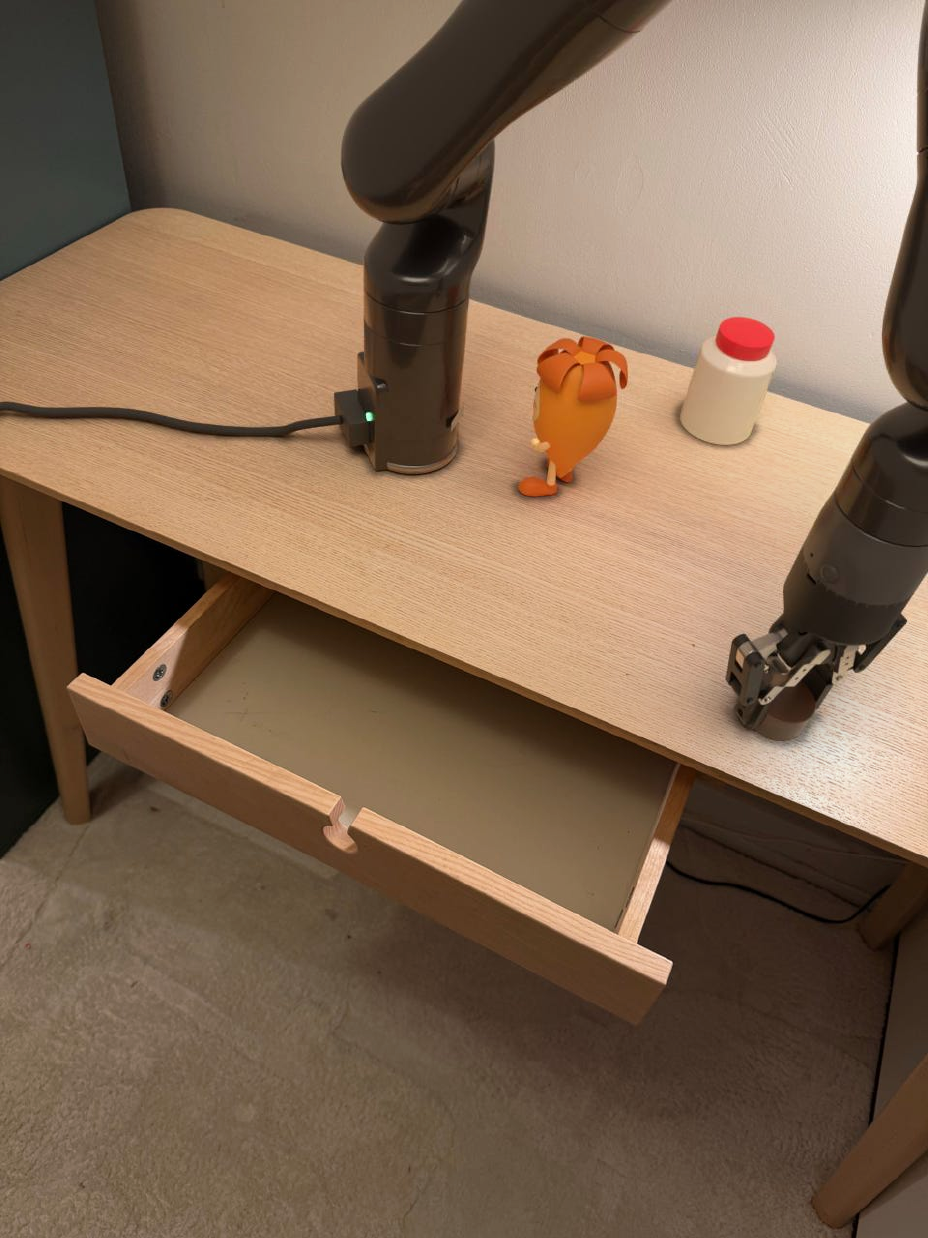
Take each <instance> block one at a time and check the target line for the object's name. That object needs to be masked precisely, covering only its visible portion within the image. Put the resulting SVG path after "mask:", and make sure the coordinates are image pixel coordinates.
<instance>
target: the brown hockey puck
mask: <svg viewBox="0 0 928 1238" xmlns="http://www.w3.org/2000/svg"><path fill="white" fill-rule="evenodd" d="M762 678H763V679H764V680H765V682H766V683H767V685H769V684H770V683H771V682H772V677H771V675H770V674H769V672H768V671H766V672H765V673H764V674H763V676H762ZM772 701H773V703H772V705H771V707H770V708H769V710H768V712H767V714H766V715H765V717H764V719H763V721H762V722H761V724H760V726H759V727H757V728H754V729H753V730H754V731H755V732H756V733H758V734H759V735H761V736H763V737H765V738H767V739H770V740H774V741H790V740H792V739H795V738H798V737H799V736H800V735H802V732H803V731H804V730H805V728H806V727H807V725H808V723H809V722H810V720H811V718H812V717H813V716H814V714H815V712H816V710H815V707H816V703H815V698H814V696H813V694H812V692H811V691H810V689H809V688H808V687H807V685H805V684H804V683H803V682H802V681H801V680H800V681H799V682H798V683H797V684H796V685H795V686H794V687H785V688H784V689H783V690H782V691H781V692H780V693H779V694H778V695H777V696H776V697H775V698H774V699H773V700H772Z"/></svg>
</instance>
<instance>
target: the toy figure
mask: <svg viewBox="0 0 928 1238" xmlns="http://www.w3.org/2000/svg"><path fill="white" fill-rule="evenodd" d="M560 350H562V351H560ZM559 351H560V352H559ZM536 363H537V366H536V370H535V371H536V373H537V375H538V377H539V380H538V383H537V386H535V388H534V398H533V405H532V423H533V428H534V432H535V435H536V437H533V438H532V439H531V440H530V446H531V448H532V450H534V451H536V452H538V453H542V452H544V453H545V455H546V457H547V460H546V466H547V468H548V470H547V476H546V480H544V479H543V478H540V477H536V476H529V477H525V478H523V479H522V480H521V481H520V482H519V484H518V490H519V492H520V494H522V495H524V496H527V497H543V496H552V495H555V494H556V493H557V492H558V486H557V481H556V477H557V478H558V479H560V480H561V481H563V482H566V483H569V482H571V481H572V480H573V469H574V468H575V467H576V466H577V465H578V464H579V463H580V462H581V461H583V460H584V459H585V458H586V457H587V456H588V455H590V454H591V453H592V452H593V451H594V450H595V449H596V448H598V446H600V444H601V443H602V441H603V440H604V438H605V437H606V435H607V434H608V432H609V430H610V428H611V426H612V424H613V421H614V418H615V415H616V410H617V404H618V386H617V381H616V377H615V373H614V370H613V367H612V364H614V365H615V366H616V367H617V368H618V369H620V371H619V376H618V382H619V388H620V389H621V390H624V389H626V387H627V386H628V383H629V370H628V362H627V358H626V356H625V355H624V354H623V353H621V352H620V351H618V350H615V348H614V346H613V345H612V344H610V343H608V342H607V341H604V340H601V339H598V338H594V337H591V336H586V335H582V336H581V337H580V338H579V339H578V342H576V340H574V339H572V338H568V337H563V338H560V339H558V340H556V341H554V342H553V343H552V344H550V345H549V346H548V347H546V348H545V349H544V350H543V351H542V352H541V353H540V354H539V355H538V357H537V361H536ZM611 363H612V364H611Z"/></svg>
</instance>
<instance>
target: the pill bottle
mask: <svg viewBox="0 0 928 1238" xmlns="http://www.w3.org/2000/svg"><path fill="white" fill-rule="evenodd" d="M775 337H776V336H775V332H774V331H773V329H772V328H770V327H769V326H768V325H767V324H765V323H763V322H761V321H759V320H757V319H753V318H750V317H745V316H734V317H729V318H725V319H723V320H722V321H721V323H720V324H719V326H718V330H717V333H715V334H713V335H711V336H709V337H707V338H706V339H705V340H704V341H703V343H702V344H701V346H700V349H699V352H698V355H697V358H696V362H695V365H694V368H693V371H692V375H691V377H690V381H689V384H688V387H687V391H686V394H685V397H684V400H683V403H682V407H681V410H680V415H679V419H680V423H681V425H682V426H683V428H684V429H685V430H686V431H687V432H688V433H689V434H691V435H692V436H694V437H695V438H697V439H699V440H701V441H703V442H706V443H709V444H713V445H721V446H729V445H730V446H731V445H736V444H740V443H742V442H744V441H746V440H747V439H748V438H749V437H750V435H751V434H752V431H753V428H754V426H755V423H756V422H757V419H758V415H759V414H760V411H761V408H762V405H763V403H764V401H765V397H766V395H767V393H768V391H769V387H770V385H771V382H772V380H773V378H774V374H775V372H776V369H777V367H778V358H777V356H776V353H775V352H774V350H773V348H772V347H773V344H774V343H775Z"/></svg>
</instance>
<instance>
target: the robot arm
mask: <svg viewBox="0 0 928 1238" xmlns="http://www.w3.org/2000/svg"><path fill="white" fill-rule="evenodd" d="M674 2H675V0H461V1H460V2H459V3H458V5H457V6H456V7H455V9H454V10H453V11H452V13H451V14H450V15H449V17H448V18H447V19H446V20H445V22H444V23H443V24H442V25H441V26H440V27H439V28H438V30H437V31H436V32H435V33H434V34H433V35H432V36H431V37H430V38H429V40H427V42H426V43H424V44H423V45H422V47H421V48H419V49H418V50H417V51H416V52H415V53H414V54H413V55H412V56H411V57H410V58H409V59H408V60H407V61H406V62H404V63H403V65H401V66H400V68H398V69H397V70H396V71H395V72H394V73H393V74H391V76H389V77H388V78H387V79H386V80H385V81H384V82H383V83H381V84H380V85H379V86H378V87H377V88H376V89H375V90H373V91H372V92H371V93H370V94H369V95H368V96H366V97H365V98H364V99H363V100H362V101H361V102H360V103H359V104H358V106H356V108H355V109H354V111H353V112H352V113H351V115H350V117H349V119H348V121H347V124H346V125H345V129H344V133H343V136H342V140H341V147H340V167H341V173H342V179H343V182H344V185H345V187H346V191H347V192H348V194H349V196H350V198H351V199H352V201H353V202H354V204H355V205H356V206H357V207H358V208H359V209H360V210H361V211H362V212H363V213H365V214H366V215H367V216H369V217H370V218H372V219H374V220H376V221H378V222H380V223H381V224H380V227H379V228H378V230H377V232H376V233H375V234H374V236H373V237H372V239H371V240H370V242H369V244H368V245H367V247H366V250H365V251H364V256H363V262H362V263H363V266H362V269H363V270H362V273H363V275H362V277H363V278H362V279H363V280H362V281H363V286H362V287H363V351H359V352H358V353H357V355H356V364H357V365H356V369H357V370H356V371H357V389H355V388H354V389H347V390H342V391H335V392H333V406H334V407H333V409H334V415H331V416H324V417H322V416H321V417H315V418H308V419H303V420H297V421H294V422H291V423H288V424H286V425H285V424H284V425H280V426H262V427H261V426H259V427H257V426H256V427H255V426H250V427H249V426H236V425H235V426H233V425H223V424H222V425H221V424H213V423H204V422H195V421H190V420H185V419H181V418H176V417H172V416H167V415H164V414H159V413H156V412H152V411H147V410H140V409H135V408H127V407H125V408H124V407H115V406H114V407H112V406H111V407H110V406H74V407H72V406H71V407H69V406H68V407H60V406H59V407H58V406H57V407H55V406H54V407H53V406H52V407H51V406H49V407H48V406H37V405H30V404H26V403H20V402H14V401H0V412H14V413H20V414H24V415H29V416H37V417H52V418H54V417H55V418H58V417H59V418H60V417H63V418H64V417H65V418H66V417H67V418H69V417H72V418H73V417H112V418H113V417H115V418H125V419H126V418H127V419H134V420H135V419H136V420H141V421H146V422H150V423H155V424H159V425H164V426H167V427H171V428H175V429H180V430H185V431H190V432H196V433H203V434H212V435H222V436H235V437H277V436H278V437H279V436H286V435H290V434H293V433H295V432H298V431H303V430H309V429H315V428H323V427H331V426H339V427H340V429H341V432H342V434H343V436H344V438H345V440H346V443H347V445H348V447H350V448H353V447H356V446H363V449H364V452H365V454H366V455H367V456H368V459H369V461H370V462H371V465H372V467H373V468H374V471H378V472H379V471H384V470H388V471H391V472H395V473H400V474H407V475H419V474H426V473H430V472H435V471H437V470H439V469H442V468H443V467H445V466H446V465H448V464H449V463H450V462H452V460H453V459H454V458H455V456H456V454H457V451H458V442H459V441H458V440H459V439H458V437H459V421H460V420H461V418H462V417H463V415H464V408H465V407H464V405H462V407H461V408H460V406H461V395H462V386H463V385H462V384H463V374H464V373H463V372H464V360H465V348H466V340H467V339H466V338H467V337H466V336H467V329H468V328H467V326H468V317H469V304H470V295H471V294H470V292H471V286H472V277H473V274H474V271H475V269H476V267H477V265H478V262H479V260H480V258H481V255H482V252H483V248H484V243H485V239H486V234H487V233H486V231H487V224H488V218H489V211H490V203H491V196H492V189H493V182H494V174H495V164H496V163H495V162H496V138H497V137H499V135H500V134H501V133H502V132H503V131H505V130H506V129H507V128H508V127H510V125H511V124H513V123H514V122H516V121H517V120H518V119H520V118H522V117H523V116H524V115H525V114H527V113H529V112H531V110H534V109H535V108H536V107H538V106H539V105H541V104H543V103H544V102H545V101H547V100H549V99H550V98H552V97H554V96H555V95H557V94H558V93H560V92H561V91H563V90H565V88H567V87H569V86H570V85H572V84H573V83H575V82H576V81H578V80H579V79H580V78H582V77H583V76H585V75H587V74H588V73H589V72H591V71H592V70H593V69H595V68H596V67H597V66H599V65H600V64H602V63H603V62H604V61H605V60H607V59H608V58H610V57H611V56H612V55H613V54H615V53H616V52H617V51H618V50H620V49H621V48H622V47H623V46H625V45H626V44H627V43H629V41H631V40H632V39H633V38H634V37H636V36H637V35H638V34H639V33H641V32H642V31H644V29H645V28H646V27H647V26H648V25H650V24H651V23H652V22H653V21H654V20H655V19H656V18H657V17H658V16H659V15H661V14H662V13H663V12H664V11H665V10H666V9H667V8H669V7H670V5H671V4H672V3H674ZM922 11H923V12H922V18H921V23H920V31H919V41H918V51H917V68H916V70H917V71H916V153H917V155H916V184H915V188H914V189H915V190H914V193H913V197H912V200H911V204H910V208H909V211H908V213H907V217H906V221H905V225H904V228H903V233H902V236H901V241H900V246H899V250H898V254H897V257H896V261H895V265H894V269H893V272H892V277H891V281H890V285H889V288H888V293H887V297H886V301H885V305H884V311H883V316H882V325H881V349H882V355H883V360H884V361H883V362H884V366H885V368H886V371H887V374H888V376H889V379H890V381H891V383H892V384H893V386H894V388H895V390H896V391H897V393H898V394H899V396H901V397H902V398H903V400H905V402H903V403H901V404H899V405H897V406H894V407H893V408H890V409H888V410H887V411H884V412H883V413H882V414H881V415H879V416H878V417H877V418H875V419H874V420H872V422H871V423H870V424H869V425H868V426H867V428H866V430H865V431H864V433H863V434H862V436H861V438H860V440H859V441H858V442H857V445H856V447H855V449H854V451H853V453H852V455H851V457H850V459H849V461H848V463H847V465H846V467H845V469H844V471H843V473H842V475H841V477H840V478H839V481H838V483H837V485H836V487H835V489H833V491H832V493H831V495H830V496H829V497H828V499H827V500H826V501H825V502H824V504H823V505H822V507H821V509H820V510H819V512H818V514H817V516H816V518H815V520H814V522H813V524H812V526H811V528H810V530H809V532H808V534H807V536H806V538H805V540H804V542H803V544H802V546H801V548H800V549H799V551H798V554H797V556H796V558H795V560H794V562H793V564H792V566H791V568H790V570H789V572H788V573H787V576H786V578H785V580H784V583H783V587H782V602H783V603H782V605H783V607H782V610H783V611H782V614H781V615H780V616H779V617H778V618H777V619H776V620H775V621H774V622H773V623H772V624H771V625H770V626H769V629H768V633H767V634H765V635H763V636H760V637H757V638H755V639H753V640H751V639H750V637H749V636H748V634H746V633H740V634H738V635H737V636H735V637H734V638H733V639H732V640H731V641H730V642H731V643H730V649H729V655H728V660H727V666H726V667H727V668H726V673H725V678H724V679H725V682H726V683H727V684H728V686H730V687H731V689H732V691H733V692H734V693H735V695H736V697H738V700H737V701H736V704H735V706H734V708H733V710H734V713H735V714H736V716H737V718H739V720H740V721H741V723H742V724H743V726H745V727H746V728H747V730H754V728H757V727H759V726H760V724H761V722H762V721H763V719H764V717H765V715H766V714H767V712H768V710H769V708H770V707H771V705H772V703H773V701H772V700H773V699H774V698H775V697H776V696H777V695H778V694H779V693H780V692H781V691H782V690H783V689H784V688H785V687H794V686H795V685H796V684H797V683H798V682H799V681H800V680H801V681H802V682H803V683H804V684H805V685H807V687H808V688H809V689H810V691H811V692H812V694H813V696H814V698H815V703H816V707H815V711H816V710H818V709H819V708H820V706H821V705H822V703H823V702H824V700H825V699H826V697H827V696H828V694H829V693H830V691H831V690H832V688H833V686H834V685H835V684H839V683H841V682H843V681H844V680H845V679H846V677H847V673H848V672H849V671H853V672H854V673H855V674H859V673H862V672H863V671H865V670H866V669H867V668H868V667H869V666H870V665H871V664H872V662H874V660H875V659H876V658H877V657H878V656H879V655H880V653H881V652H882V651H883V650H884V649H885V648H886V647H887V646H888V644H889V643H890V642H891V641H892V640H893V639H894V638H895V637H896V636H897V635H898V633H899V632H900V631H901V630H902V629H903V628H904V626H906V624H907V623H908V619H907V618H906V617H905V616H904V615H903V614H902V612H903V611H904V609H905V608H906V606H907V605H908V603H909V602H910V601H911V599H912V597H913V596H914V595H915V593H916V591H917V590H918V588H919V587H920V586H921V584H922V582H923V581H924V580H925V578H926V576H927V575H928V0H924V5H923V10H922ZM861 646H865V649H864V650H863V651H862V653H861V652H860V651H859V650H860V647H861ZM781 659H782V660H781ZM788 668H790V670H789V669H788ZM767 672H769V674H770V675H771V677H772V682H771V683H770V684H769V685H767V683H766V682H765V680H764V679H763V678H762V676H763V674H764V673H767Z"/></svg>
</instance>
